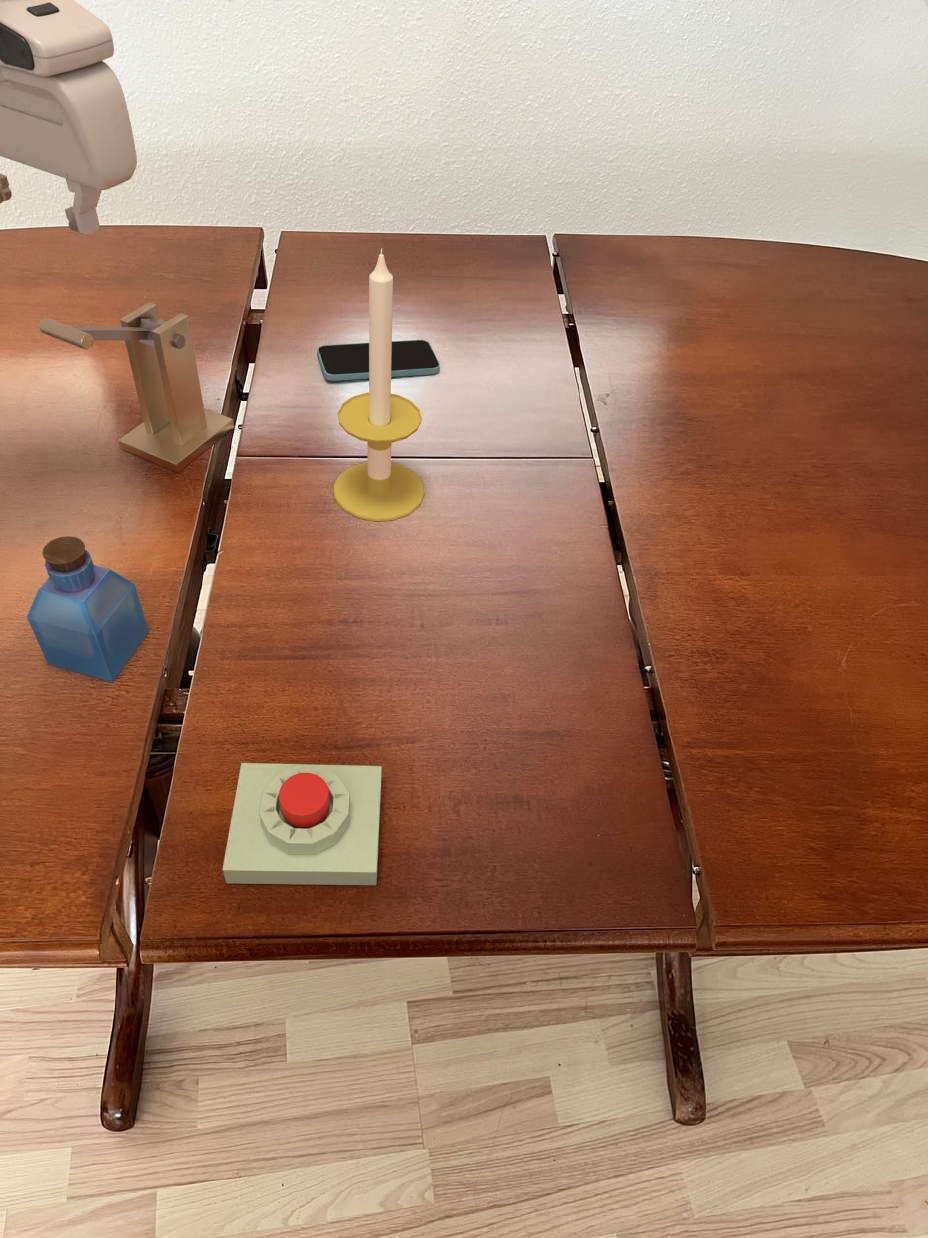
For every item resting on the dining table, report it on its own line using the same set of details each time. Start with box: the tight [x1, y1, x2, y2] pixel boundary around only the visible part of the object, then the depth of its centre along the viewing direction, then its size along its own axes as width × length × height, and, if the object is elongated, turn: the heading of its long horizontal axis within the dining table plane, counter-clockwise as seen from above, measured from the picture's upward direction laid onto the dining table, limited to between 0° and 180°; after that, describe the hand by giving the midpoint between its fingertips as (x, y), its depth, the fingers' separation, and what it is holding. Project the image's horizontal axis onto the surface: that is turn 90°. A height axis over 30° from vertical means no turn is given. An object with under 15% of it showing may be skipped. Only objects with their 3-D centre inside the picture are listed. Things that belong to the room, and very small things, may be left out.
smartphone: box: [316, 339, 441, 382], centre depth 111 cm, size 7×1×15 cm
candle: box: [332, 247, 426, 522], centre depth 84 cm, size 10×10×27 cm
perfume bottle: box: [26, 535, 150, 683], centre depth 72 cm, size 6×6×12 cm
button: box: [279, 773, 330, 827], centre depth 63 cm, size 4×4×2 cm
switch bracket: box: [117, 301, 235, 474], centre depth 92 cm, size 10×8×15 cm
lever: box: [38, 317, 168, 351], centre depth 83 cm, size 14×5×2 cm, turn 154°
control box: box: [222, 762, 383, 886], centre depth 65 cm, size 11×9×4 cm
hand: (41, 214), depth 70 cm, fingers open, 8 cm apart
